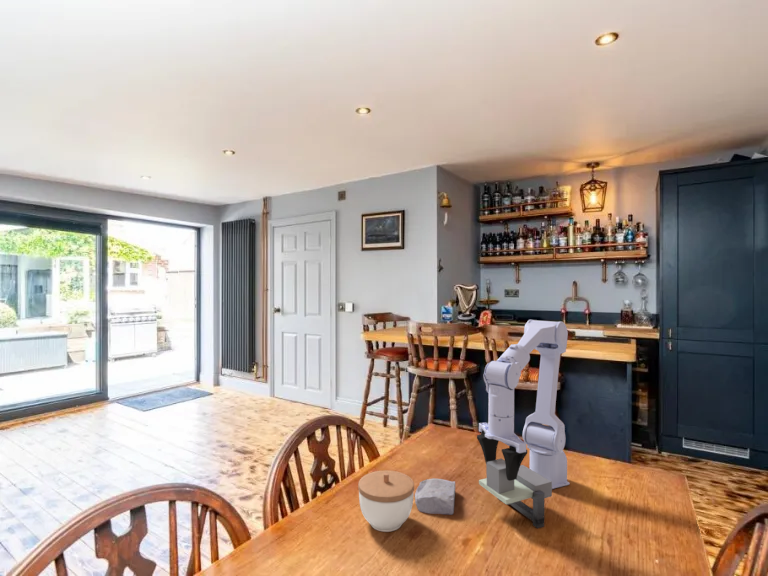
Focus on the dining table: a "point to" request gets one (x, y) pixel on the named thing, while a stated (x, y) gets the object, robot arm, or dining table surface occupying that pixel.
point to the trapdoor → (522, 486)
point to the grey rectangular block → (498, 476)
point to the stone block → (435, 496)
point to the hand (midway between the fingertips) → (500, 472)
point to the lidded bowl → (386, 499)
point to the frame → (536, 512)
